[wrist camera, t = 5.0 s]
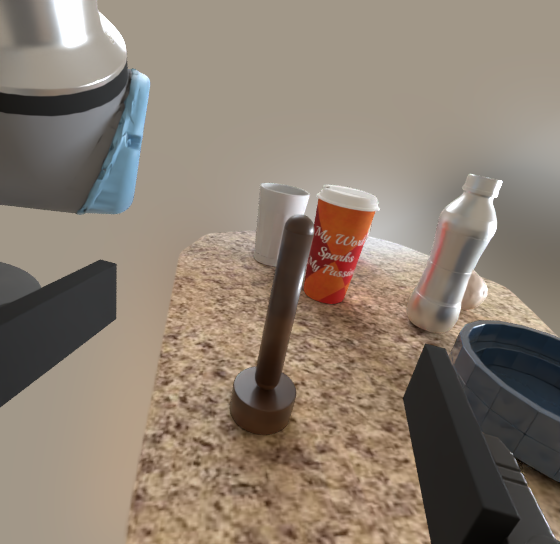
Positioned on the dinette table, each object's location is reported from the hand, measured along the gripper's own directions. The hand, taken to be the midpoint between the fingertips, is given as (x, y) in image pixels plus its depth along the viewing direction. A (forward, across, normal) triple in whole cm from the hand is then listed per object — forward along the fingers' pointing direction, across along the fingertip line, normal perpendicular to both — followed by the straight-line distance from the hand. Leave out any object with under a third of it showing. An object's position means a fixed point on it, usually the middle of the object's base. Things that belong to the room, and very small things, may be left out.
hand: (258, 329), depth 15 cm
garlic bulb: (+42, +24, -14) cm, 51 cm away
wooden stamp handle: (+10, 0, -14) cm, 17 cm away
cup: (+43, -6, -13) cm, 46 cm away
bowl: (+19, +26, -14) cm, 34 cm away
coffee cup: (+35, +3, -14) cm, 37 cm away
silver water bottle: (+33, +18, -14) cm, 40 cm away
